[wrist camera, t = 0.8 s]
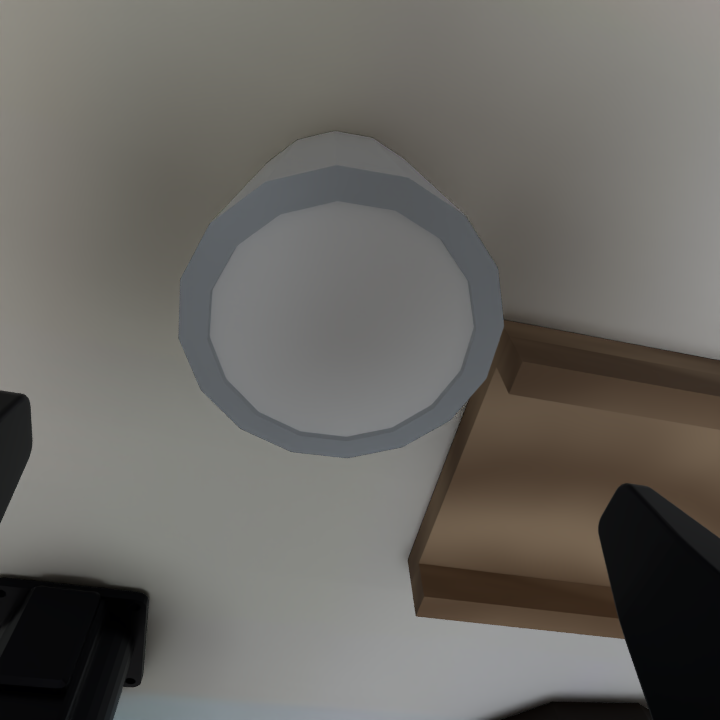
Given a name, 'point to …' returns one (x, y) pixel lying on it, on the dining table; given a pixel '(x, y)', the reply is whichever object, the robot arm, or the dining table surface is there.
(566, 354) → the tray
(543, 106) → the dining table surface
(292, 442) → the shot glass
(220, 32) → the dining table surface
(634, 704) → the black ribbed pot
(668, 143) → the dining table surface
